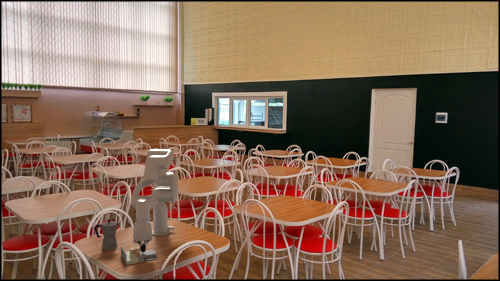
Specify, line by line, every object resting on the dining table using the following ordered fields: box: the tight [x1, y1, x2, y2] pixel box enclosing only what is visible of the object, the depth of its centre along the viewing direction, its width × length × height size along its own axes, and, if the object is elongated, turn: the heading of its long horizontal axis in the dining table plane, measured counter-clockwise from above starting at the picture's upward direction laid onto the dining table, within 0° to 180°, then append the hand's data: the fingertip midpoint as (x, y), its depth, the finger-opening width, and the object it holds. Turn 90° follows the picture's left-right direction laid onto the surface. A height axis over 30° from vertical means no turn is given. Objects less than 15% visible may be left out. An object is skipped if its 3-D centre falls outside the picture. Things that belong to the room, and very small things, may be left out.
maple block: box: [129, 245, 140, 257], centre depth 212 cm, size 5×4×4 cm
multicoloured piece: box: [120, 245, 159, 266], centre depth 214 cm, size 18×14×6 cm
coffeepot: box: [93, 218, 121, 251], centre depth 226 cm, size 15×9×18 cm, turn 119°
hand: (143, 251), depth 214 cm, fingers closed
